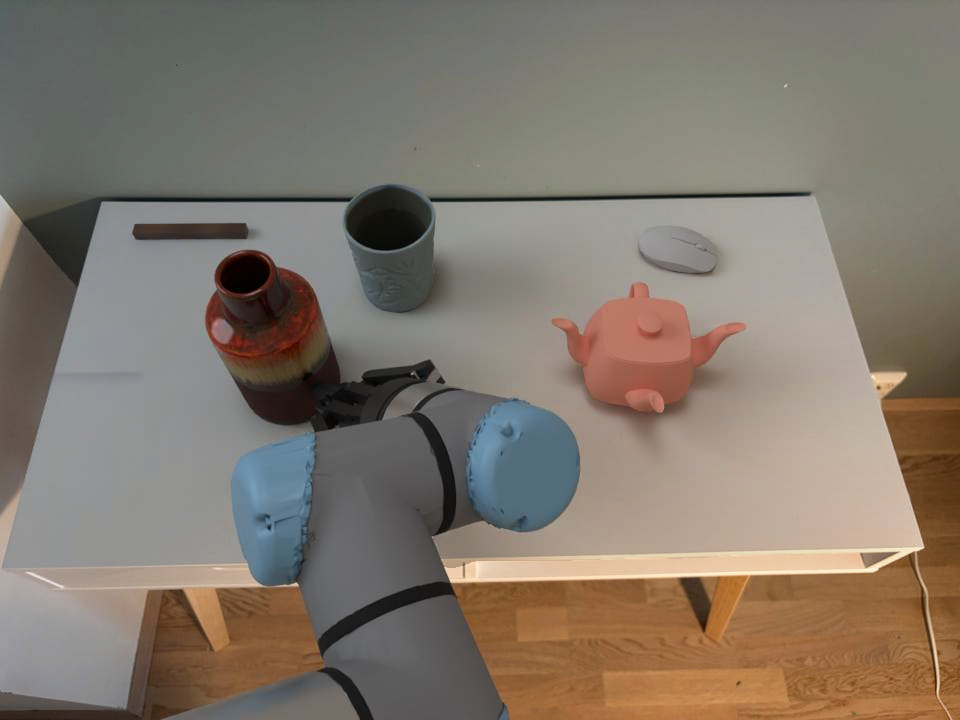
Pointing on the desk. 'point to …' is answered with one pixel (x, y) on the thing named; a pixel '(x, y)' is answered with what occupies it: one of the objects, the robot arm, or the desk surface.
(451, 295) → the desk surface
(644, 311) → the teapot
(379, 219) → the grey-blue ceramic planter
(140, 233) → the strip
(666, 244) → the computer mouse
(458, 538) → the desk surface
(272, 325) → the vase
